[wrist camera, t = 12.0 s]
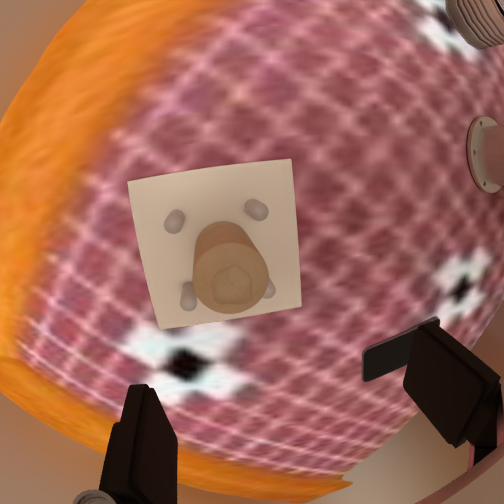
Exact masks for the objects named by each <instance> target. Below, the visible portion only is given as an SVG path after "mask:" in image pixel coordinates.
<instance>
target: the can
mask: <svg viewBox="0 0 504 504" xmlns="http://www.w3.org/2000/svg"><path fill="white" fill-rule="evenodd" d="M446 11H447V13H448V15H449V17H450V19H451V21H452V23H453V25H454V27H455V28H456V30H457V31H458V32H459V33H460V34H461V36H462V37H463V38H464V39H465V41H466V42H467V43H468V44H470V45H472V46H473V47H475V48H477V49H478V50H479V49H483V48H487V47H492V46H497V45H501V44H504V0H446Z"/></svg>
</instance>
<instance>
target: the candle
mask: <svg viewBox="0 0 504 504" xmlns="http://www.w3.org/2000/svg"><path fill="white" fill-rule="evenodd" d="M268 282H269V272H268V268H267V265H266V262H265V261H264V259H263V257H262V256H261V254H260V253H259V251H258V250H257V248H256V247H255V245H254V244H253V242H252V241H251V239H250V238H249V236H248V235H247V233H246V232H245V231H244V230H243V229H242V228H241V227H240V226H238V225H236V224H234V223H231V222H226V221H220V222H215V223H212V224H210V225H209V226H207V227H206V228H204V229H203V230H202V231H201V233H200V234H199V236H198V238H197V240H196V244H195V252H194V263H193V276H192V283H193V288H194V291H195V294H196V295H197V297H198V299H199V300H200V301H201V302H202V303H203V304H204V305H205V306H206V307H208V308H209V309H211V310H213V311H215V312H218V313H223V314H236V313H240V312H244V311H246V310H248V309H250V308H252V307H253V306H254V305H256V304H257V303H258V302H259V301H260V300H261V298H262V297H263V295H264V294H265V292H266V290H267V286H268Z"/></svg>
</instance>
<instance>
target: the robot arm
mask: <svg viewBox="0 0 504 504" xmlns="http://www.w3.org/2000/svg"><path fill="white" fill-rule="evenodd" d="M467 153H468V161H469V166H470V170H471V173H472V176H473V178H474V180H475V182H476V184H477V185H478V187H479V188H480V189H481V190H483V191H484V192H488V193H495V192H497V191H498V190H499V189H500V188H501V187H502V186H504V126H498V124H497V123H496V122H495V121H494V120H493V119H492V118H490V117H488V116H480V117H477V118H476V119H475V120H474V121H473V123H472V124H471V127H470V130H469V134H468V141H467ZM500 378H501V377H500V376H499V375H498V374H497V373H496V372H494V371H493V370H492V369H491V368H490V367H488V366H487V365H486V364H485V363H484V362H483V361H481V360H480V359H479V358H478V357H477V356H475V355H474V354H473V353H472V352H471V351H469V350H468V349H467V348H466V347H464V346H463V345H462V344H461V343H460V342H458V341H457V340H456V339H455V338H453V337H452V336H451V335H450V334H448V333H447V332H446V331H444V330H443V329H442V328H441V327H439V326H438V325H437V324H436V323H434V322H432V321H430V322H427V323H425V324H422V325H420V326H418V328H417V330H416V331H415V333H414V337H413V342H412V347H411V351H410V356H409V360H408V365H407V369H406V373H405V377H404V380H403V387H404V389H405V391H406V392H407V393H408V395H409V396H410V397H411V398H412V399H413V401H414V402H415V403H416V404H417V406H418V407H419V408H420V409H421V410H422V412H423V413H424V414H425V415H426V417H427V418H428V419H429V420H430V422H431V423H432V424H433V425H434V427H435V428H436V429H437V430H438V431H439V433H440V434H441V435H442V437H443V438H444V439H445V440H446V442H447V443H449V444H452V445H453V446H454V447H455V448H457V447H459V446H460V445H462V444H463V443H465V442H466V440H468V441H469V442H470V446H469V447H470V448H469V459H468V468H467V471H466V472H465V473H464V474H462V475H461V476H459V477H458V478H456V479H455V480H453V481H452V482H451V483H449V484H447V485H446V486H444V487H443V488H441V489H440V490H438V491H436V492H435V493H433V494H431V495H429V496H428V497H426V498H424V499H422V500H421V501H419V502H417V503H415V504H504V380H503V381H502V383H501V384H500V383H499V380H500ZM177 454H178V442H177V437H176V434H175V432H174V430H173V428H172V426H171V424H170V422H169V420H168V418H167V416H166V414H165V412H164V410H163V407H162V405H161V403H160V401H159V398H158V396H157V394H156V392H155V390H154V388H149V386H148V385H147V384H137V385H130V386H129V388H128V392H127V396H126V400H125V404H124V407H123V411H122V416H121V420H120V422H116V423H115V424H114V425H113V427H112V431H111V435H110V439H109V443H108V447H107V452H106V456H105V461H104V466H103V470H102V475H101V480H100V486H99V490H87V491H84V492H82V493H80V494H79V495H77V497H76V498H75V500H74V501H73V504H177Z"/></svg>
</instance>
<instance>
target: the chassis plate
mask: <svg viewBox="0 0 504 504" xmlns="http://www.w3.org/2000/svg"><path fill="white" fill-rule="evenodd" d="M127 183H128V190H129V196H130V203H131V208H132V214H133V220H134V225H135V230H136V236H137V241H138V245H139V250H140V255H141V259H142V264H143V268H144V272H145V277H146V281H147V285H148V289H149V293H150V297H151V301H152V304H153V308H154V312H155V315H156V319H157V322H158V326H159V329H167V328H175V327H183V326H190V325H197V324H204V323H210V322H217V321H223V320H229V319H236V318H242V317H247V316H253V315H259V314H264V313H270V312H275V311H280V310H285V309H291V308H296V307H301V306H302V304H301V282H300V264H299V247H298V233H297V219H296V206H295V194H294V183H293V172H292V162H291V159H282V160H271V161H260V162H250V163H241V164H233V165H225V166H217V167H210V168H203V169H196V170H189V171H183V172H177V173H171V174H165V175H159V176H154V177H149V178H143V179H138V180H133V181H128V182H127ZM220 221H226V222H231V223H234V224H236V225H238V226H240V227H241V228H242V229H243V230H244V231H245V232H246V233H247V235H248V236H249V238H250V239H251V241H252V242H253V244H254V245H255V247H256V248H257V250H258V251H259V253H260V254H261V256H262V257H263V259H264V261H265V262H266V265H267V268H268V272H269V282H268V286H267V290H266V292H265V294H264V295H263V297H262V298H261V300H260V301H259V302H258V303H257V304H256V305H254V306H253V307H252V308H250V309H248V310H246V311H244V312H240V313H236V314H223V313H218V312H215V311H213V310H211V309H209V308H208V307H206V306H205V305H204V304H203V303H202V302H201V301H200V300H199V299H198V297H197V295H196V294H195V291H194V288H193V283H192V276H193V263H194V252H195V244H196V240H197V238H198V236H199V234H200V233H201V231H202V230H203V229H204V228H206V227H207V226H209V225H210V224H212V223H215V222H220Z"/></svg>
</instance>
